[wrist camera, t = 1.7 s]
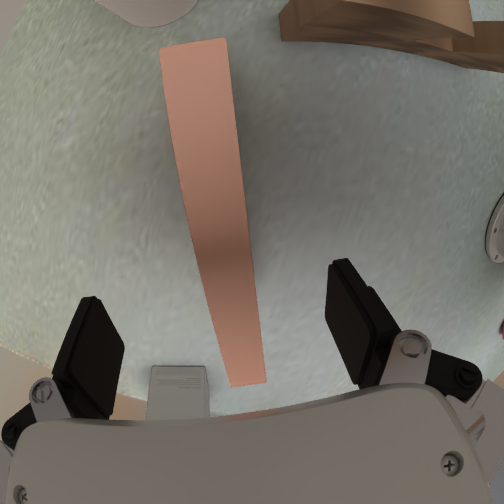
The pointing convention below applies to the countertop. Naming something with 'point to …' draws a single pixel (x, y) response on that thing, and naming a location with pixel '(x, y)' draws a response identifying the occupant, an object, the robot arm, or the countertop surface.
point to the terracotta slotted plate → (215, 197)
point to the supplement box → (177, 393)
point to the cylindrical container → (149, 10)
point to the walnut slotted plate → (400, 28)
